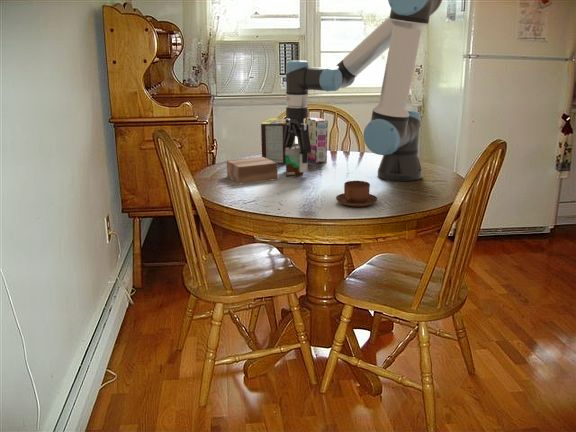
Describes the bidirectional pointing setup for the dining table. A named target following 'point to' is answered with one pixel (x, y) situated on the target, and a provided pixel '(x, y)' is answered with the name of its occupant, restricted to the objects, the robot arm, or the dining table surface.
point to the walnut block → (251, 170)
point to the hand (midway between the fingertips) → (296, 168)
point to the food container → (293, 161)
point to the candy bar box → (317, 139)
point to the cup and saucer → (356, 194)
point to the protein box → (273, 140)
